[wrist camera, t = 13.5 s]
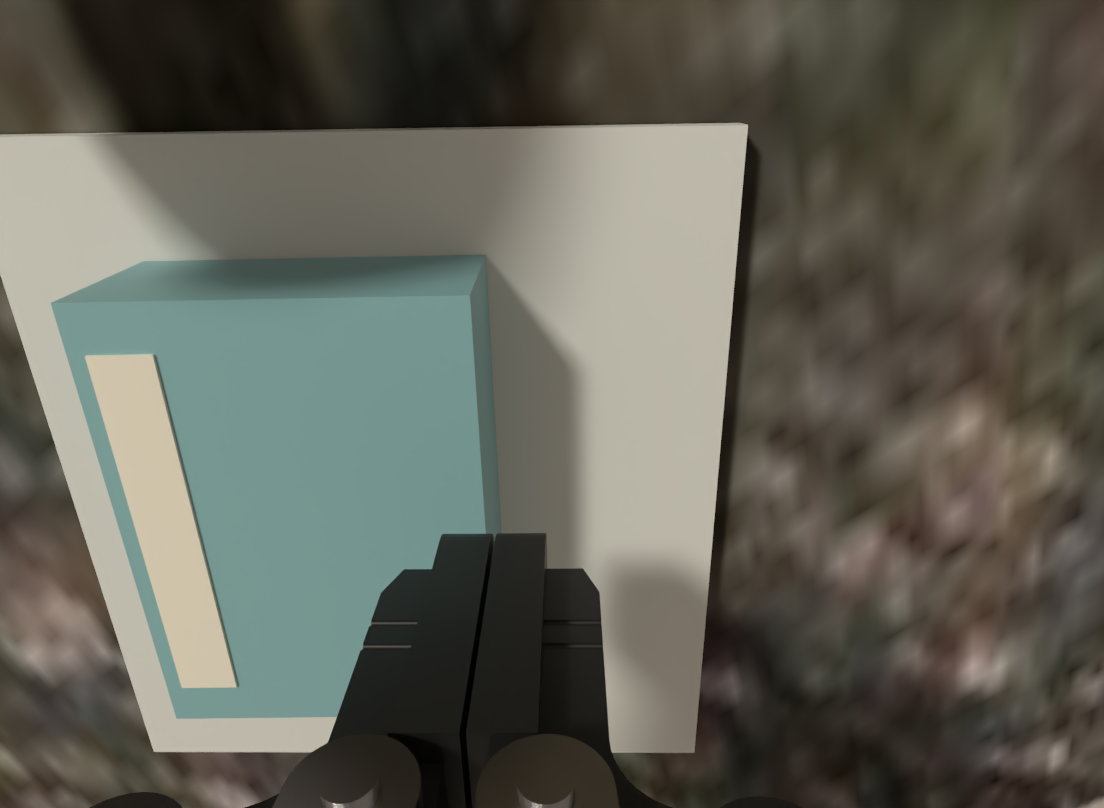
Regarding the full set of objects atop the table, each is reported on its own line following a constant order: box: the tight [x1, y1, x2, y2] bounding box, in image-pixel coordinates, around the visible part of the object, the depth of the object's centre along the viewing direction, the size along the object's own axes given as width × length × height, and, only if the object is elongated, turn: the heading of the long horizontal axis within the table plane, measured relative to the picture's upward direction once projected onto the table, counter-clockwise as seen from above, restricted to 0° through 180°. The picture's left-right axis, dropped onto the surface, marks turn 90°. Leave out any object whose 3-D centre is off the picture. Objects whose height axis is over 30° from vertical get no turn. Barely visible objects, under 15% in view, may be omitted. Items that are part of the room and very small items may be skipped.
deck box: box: [51, 255, 502, 719], centre depth 13 cm, size 8×3×6 cm
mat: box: [0, 123, 748, 753], centre depth 15 cm, size 14×13×1 cm
